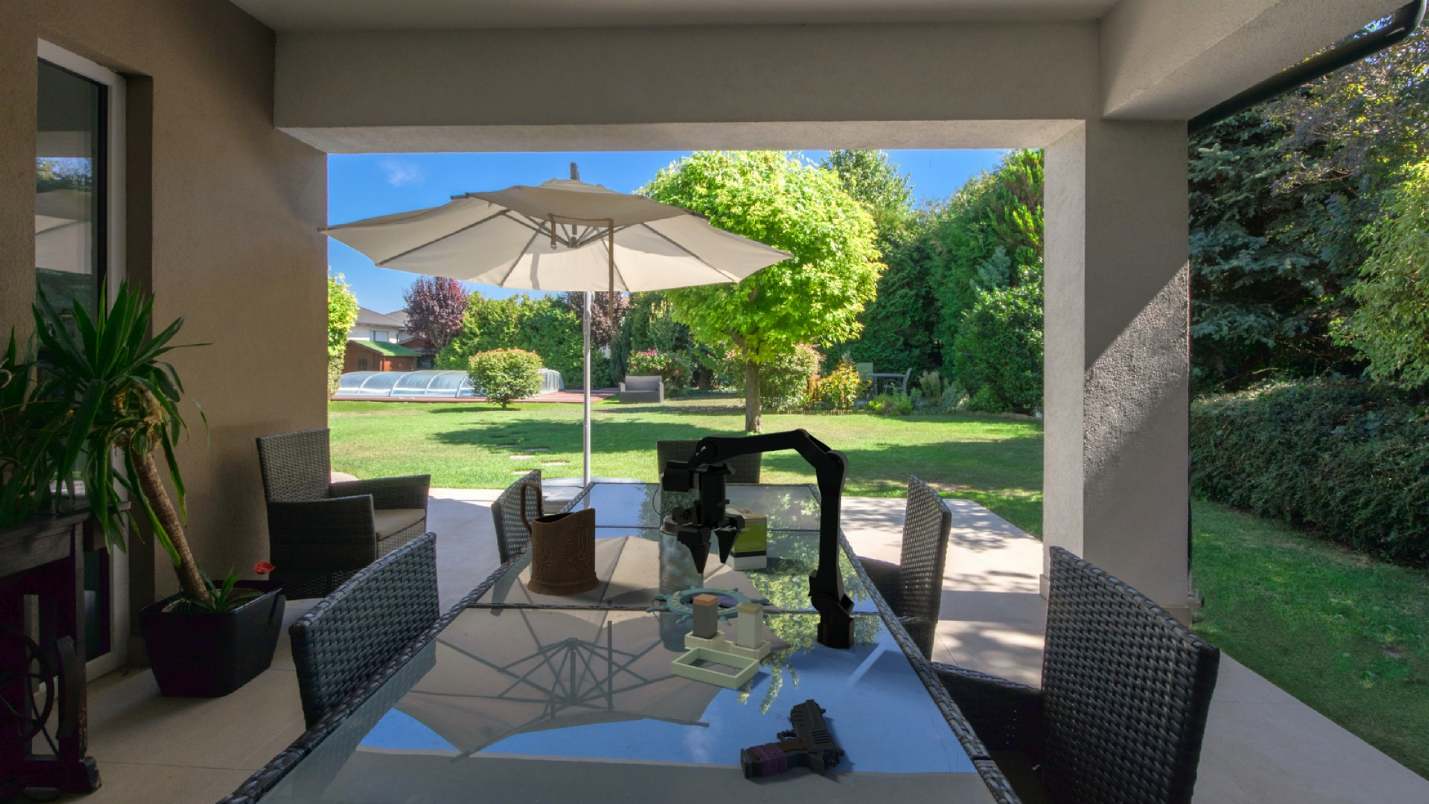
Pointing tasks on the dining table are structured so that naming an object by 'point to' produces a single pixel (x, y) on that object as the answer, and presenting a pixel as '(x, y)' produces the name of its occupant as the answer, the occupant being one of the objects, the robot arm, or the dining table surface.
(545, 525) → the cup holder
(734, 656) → the tray
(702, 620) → the block
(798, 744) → the handgun
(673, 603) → the decorative ship wheel
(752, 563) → the tea box
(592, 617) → the dining table surface
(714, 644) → the fuse block
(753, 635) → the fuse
